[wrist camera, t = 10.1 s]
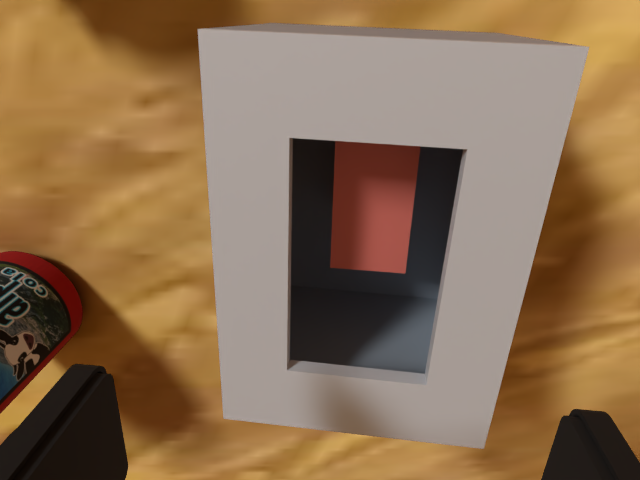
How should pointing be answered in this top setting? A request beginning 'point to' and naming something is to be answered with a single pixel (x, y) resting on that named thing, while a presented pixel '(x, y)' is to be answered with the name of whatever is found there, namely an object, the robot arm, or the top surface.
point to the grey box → (426, 227)
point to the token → (373, 205)
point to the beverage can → (32, 319)
